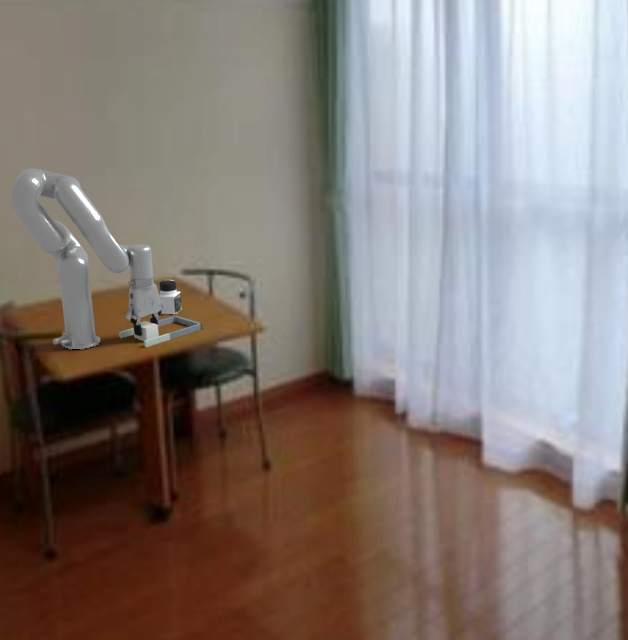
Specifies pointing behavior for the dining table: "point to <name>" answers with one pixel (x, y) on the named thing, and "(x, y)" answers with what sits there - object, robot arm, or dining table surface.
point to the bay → (193, 328)
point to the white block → (147, 331)
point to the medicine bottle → (170, 297)
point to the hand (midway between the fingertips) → (146, 332)
